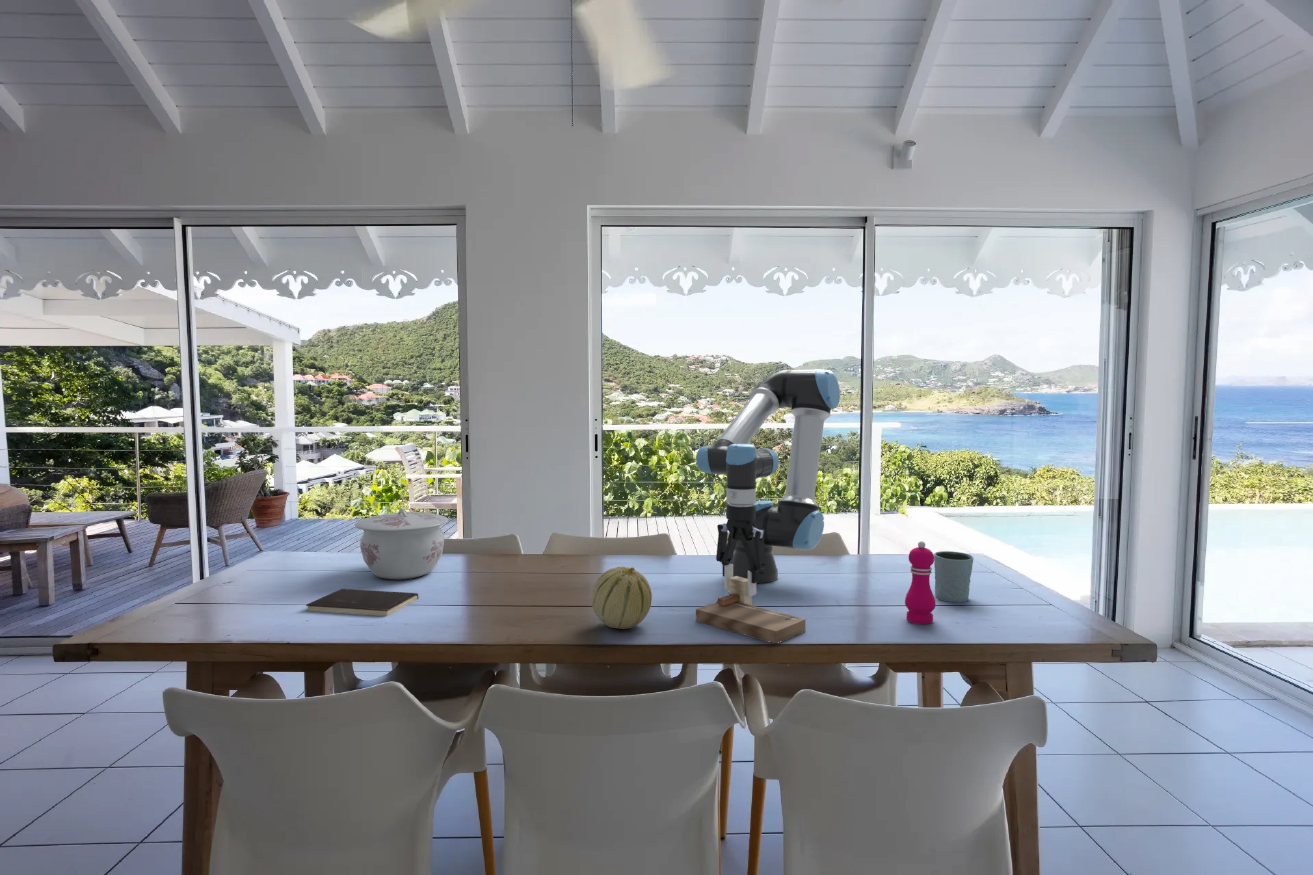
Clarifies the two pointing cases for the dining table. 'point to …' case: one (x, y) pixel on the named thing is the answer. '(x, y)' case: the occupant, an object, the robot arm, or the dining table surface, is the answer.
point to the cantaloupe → (621, 597)
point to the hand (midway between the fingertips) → (740, 591)
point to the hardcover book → (362, 602)
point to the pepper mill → (920, 586)
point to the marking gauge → (736, 592)
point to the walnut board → (751, 621)
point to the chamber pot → (402, 543)
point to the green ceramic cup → (952, 575)
